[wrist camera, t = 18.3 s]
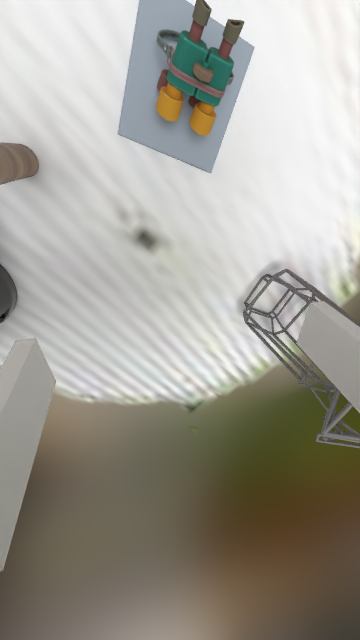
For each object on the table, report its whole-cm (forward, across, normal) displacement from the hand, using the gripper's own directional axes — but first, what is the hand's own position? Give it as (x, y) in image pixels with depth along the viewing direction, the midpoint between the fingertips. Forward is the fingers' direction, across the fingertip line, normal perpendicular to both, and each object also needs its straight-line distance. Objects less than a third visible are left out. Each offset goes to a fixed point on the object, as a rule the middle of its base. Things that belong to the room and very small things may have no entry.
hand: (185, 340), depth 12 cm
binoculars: (+32, +7, +14) cm, 36 cm away
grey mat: (+33, +7, +14) cm, 36 cm away
